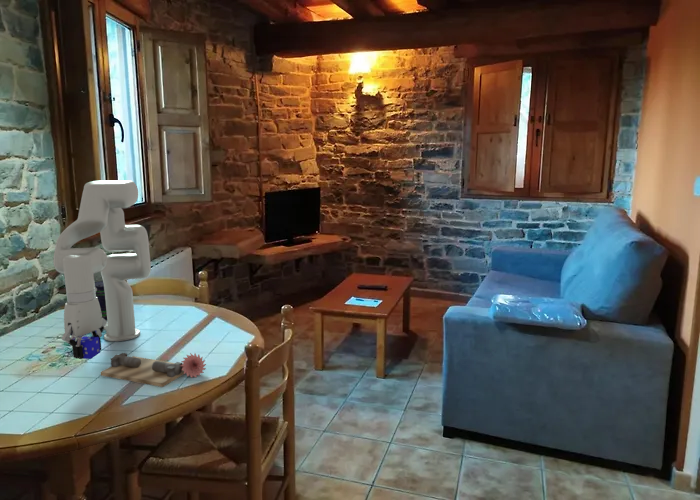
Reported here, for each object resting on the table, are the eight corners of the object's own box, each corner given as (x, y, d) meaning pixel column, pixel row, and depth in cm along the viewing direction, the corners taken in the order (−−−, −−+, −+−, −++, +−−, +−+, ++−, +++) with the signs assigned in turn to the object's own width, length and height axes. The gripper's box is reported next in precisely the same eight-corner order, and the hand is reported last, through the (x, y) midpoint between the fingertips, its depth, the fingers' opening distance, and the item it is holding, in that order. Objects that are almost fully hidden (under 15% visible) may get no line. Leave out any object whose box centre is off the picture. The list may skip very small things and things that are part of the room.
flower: (182, 352, 171) (186, 347, 166) (206, 359, 173) (210, 355, 169) (174, 376, 167) (178, 372, 162) (199, 383, 169) (204, 379, 165)
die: (85, 351, 162) (83, 336, 161) (100, 352, 162) (99, 336, 161) (75, 358, 157) (73, 342, 156) (91, 359, 157) (89, 343, 156)
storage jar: (102, 313, 232) (99, 280, 230) (123, 314, 231) (120, 280, 228) (88, 320, 223) (85, 285, 220) (110, 321, 221) (107, 286, 219)
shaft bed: (99, 375, 168) (98, 362, 167) (132, 359, 181) (131, 347, 180) (163, 387, 159) (162, 374, 158) (193, 369, 172) (192, 357, 171)
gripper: (95, 286, 165) (100, 341, 169) (46, 303, 149) (53, 363, 153) (114, 289, 162) (119, 345, 166) (66, 306, 146) (73, 367, 150)
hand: (87, 353), depth 159 cm, fingers closed on die, 6 cm apart
